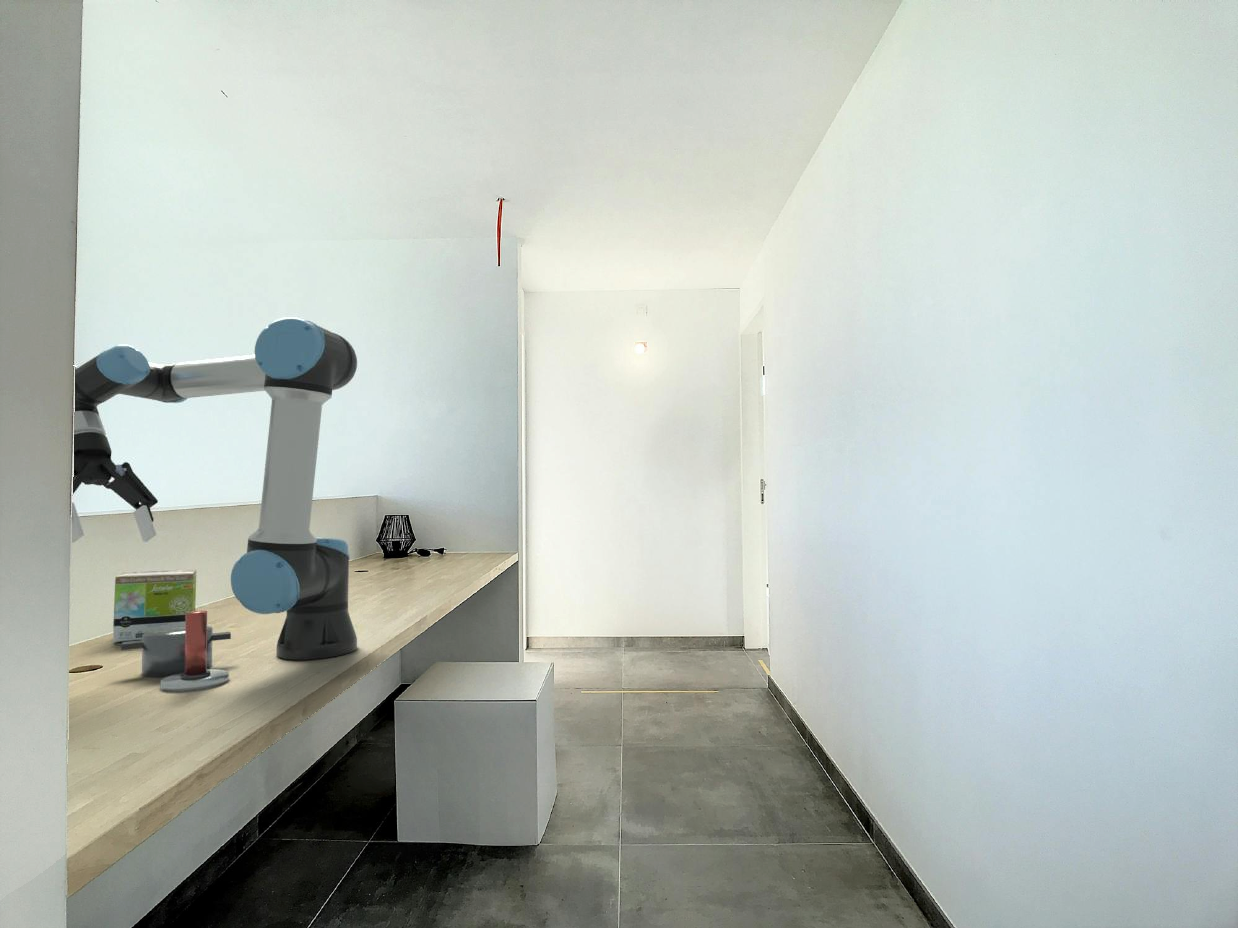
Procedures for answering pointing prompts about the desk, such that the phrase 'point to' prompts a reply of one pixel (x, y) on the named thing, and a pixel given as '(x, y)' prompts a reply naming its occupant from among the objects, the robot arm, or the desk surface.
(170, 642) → the pot
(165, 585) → the tea box
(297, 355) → the robot arm
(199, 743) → the desk surface
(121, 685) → the desk surface
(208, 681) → the lid
